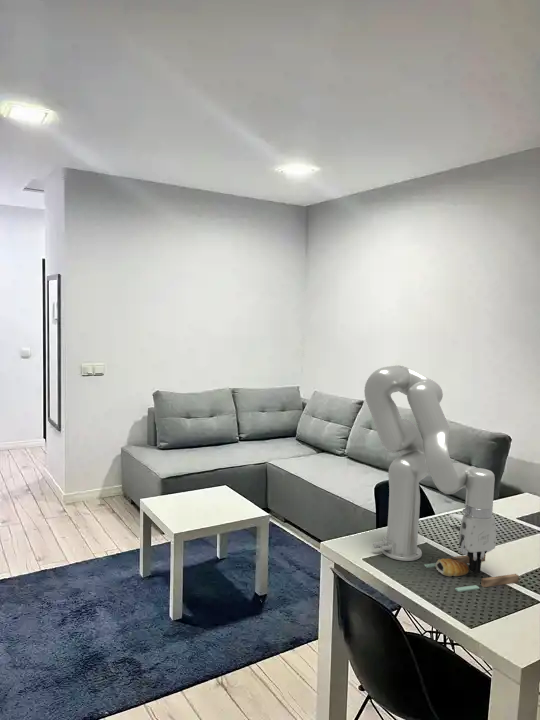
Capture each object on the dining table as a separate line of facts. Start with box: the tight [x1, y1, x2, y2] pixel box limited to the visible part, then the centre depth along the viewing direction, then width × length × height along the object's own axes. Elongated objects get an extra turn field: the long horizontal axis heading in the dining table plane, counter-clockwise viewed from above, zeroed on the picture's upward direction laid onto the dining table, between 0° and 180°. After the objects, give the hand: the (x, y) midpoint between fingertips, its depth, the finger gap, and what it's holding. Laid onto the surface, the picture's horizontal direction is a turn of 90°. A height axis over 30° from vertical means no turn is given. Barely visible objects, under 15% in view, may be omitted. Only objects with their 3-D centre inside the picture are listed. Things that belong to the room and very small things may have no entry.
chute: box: [450, 554, 520, 588], centre depth 168 cm, size 12×15×2 cm
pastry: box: [435, 557, 470, 577], centre depth 168 cm, size 9×7×4 cm
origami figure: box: [445, 513, 464, 527], centre depth 202 cm, size 12×8×5 cm
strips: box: [424, 562, 480, 593], centre depth 165 cm, size 7×16×1 cm, turn 19°
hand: (474, 571), depth 167 cm, fingers closed
